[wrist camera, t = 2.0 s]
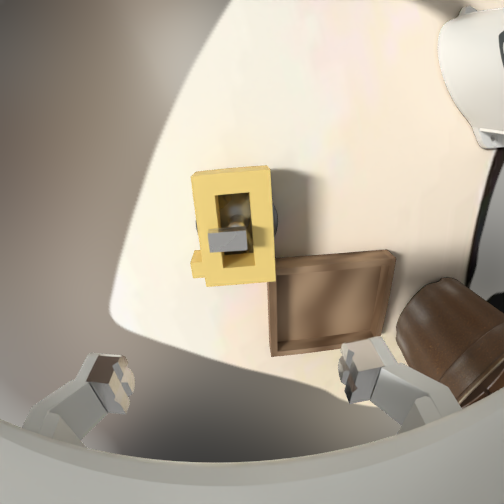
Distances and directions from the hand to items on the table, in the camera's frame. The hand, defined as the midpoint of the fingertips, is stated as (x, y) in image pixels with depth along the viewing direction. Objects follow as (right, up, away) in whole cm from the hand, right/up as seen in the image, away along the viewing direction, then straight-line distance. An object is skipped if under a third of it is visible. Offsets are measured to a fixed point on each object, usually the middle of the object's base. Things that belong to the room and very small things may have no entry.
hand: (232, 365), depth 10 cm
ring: (-1, +7, +15) cm, 16 cm away
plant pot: (+25, -4, +23) cm, 35 cm away
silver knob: (-1, +7, +17) cm, 18 cm away
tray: (+9, -1, +21) cm, 23 cm away
